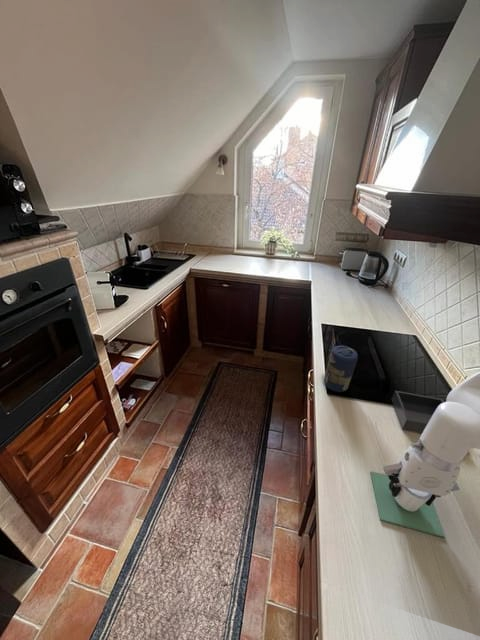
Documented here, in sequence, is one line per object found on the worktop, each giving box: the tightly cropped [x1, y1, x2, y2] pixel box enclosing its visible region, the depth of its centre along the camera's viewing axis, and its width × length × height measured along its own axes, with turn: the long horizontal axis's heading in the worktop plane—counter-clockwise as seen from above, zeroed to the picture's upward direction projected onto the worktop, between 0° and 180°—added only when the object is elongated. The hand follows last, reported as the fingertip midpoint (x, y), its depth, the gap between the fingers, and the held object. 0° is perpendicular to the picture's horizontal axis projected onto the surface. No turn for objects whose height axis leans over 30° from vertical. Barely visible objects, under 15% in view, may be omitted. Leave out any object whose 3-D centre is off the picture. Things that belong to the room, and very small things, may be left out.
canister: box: [323, 345, 359, 393], centre depth 98 cm, size 10×10×18 cm
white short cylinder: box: [395, 485, 432, 512], centre depth 63 cm, size 7×7×7 cm
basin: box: [390, 390, 445, 434], centre depth 88 cm, size 16×14×5 cm
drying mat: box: [370, 471, 446, 539], centre depth 66 cm, size 14×12×1 cm
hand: (408, 494), depth 64 cm, fingers closed on white short cylinder, 6 cm apart
